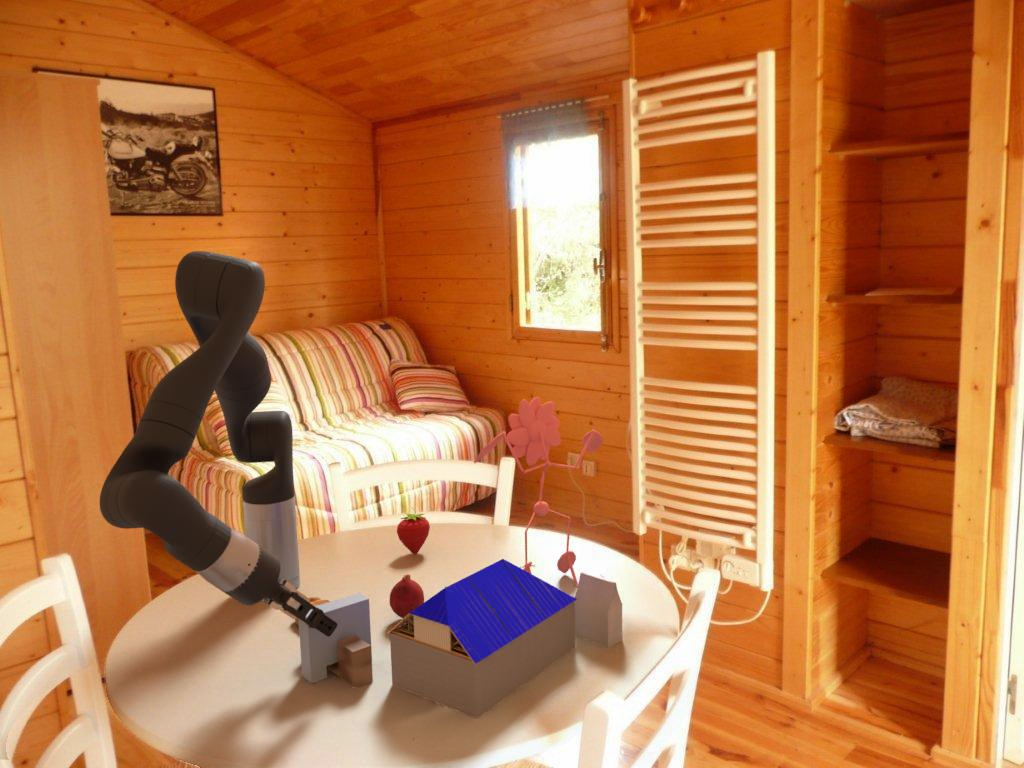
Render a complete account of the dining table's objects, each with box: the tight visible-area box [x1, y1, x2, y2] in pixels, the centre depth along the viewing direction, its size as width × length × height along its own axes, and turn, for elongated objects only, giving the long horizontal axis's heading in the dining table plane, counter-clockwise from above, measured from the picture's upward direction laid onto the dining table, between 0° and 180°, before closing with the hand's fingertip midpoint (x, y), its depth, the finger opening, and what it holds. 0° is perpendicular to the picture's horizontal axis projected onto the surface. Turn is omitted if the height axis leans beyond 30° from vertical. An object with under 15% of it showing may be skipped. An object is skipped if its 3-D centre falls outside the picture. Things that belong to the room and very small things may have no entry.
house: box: [386, 558, 577, 719], centre depth 124 cm, size 25×16×16 cm, turn 144°
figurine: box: [473, 396, 605, 586], centre depth 155 cm, size 15×26×35 cm, turn 124°
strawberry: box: [396, 508, 431, 555], centre depth 172 cm, size 6×8×10 cm
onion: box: [389, 573, 425, 619], centre depth 141 cm, size 6×6×8 cm
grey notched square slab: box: [298, 592, 373, 684], centre depth 125 cm, size 10×3×10 cm, turn 129°
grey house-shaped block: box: [574, 572, 623, 649], centre depth 133 cm, size 4×7×10 cm, turn 47°
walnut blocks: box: [326, 635, 374, 689], centre depth 125 cm, size 14×3×6 cm, turn 40°
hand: (318, 620), depth 122 cm, fingers open, 8 cm apart
